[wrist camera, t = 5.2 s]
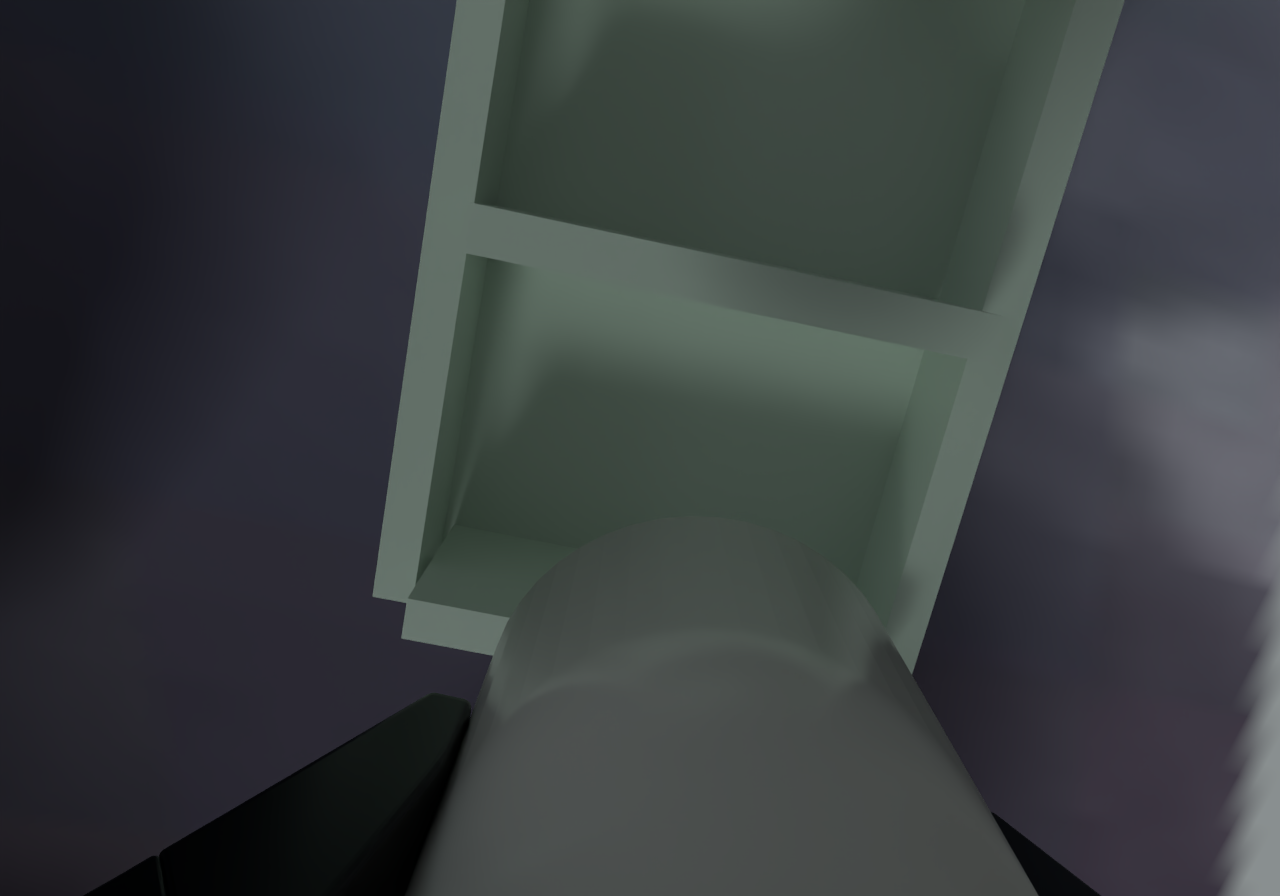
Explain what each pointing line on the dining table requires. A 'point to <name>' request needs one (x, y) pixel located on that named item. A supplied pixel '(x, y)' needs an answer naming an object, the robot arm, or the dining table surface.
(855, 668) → the jar
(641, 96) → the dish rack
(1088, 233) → the dining table surface
